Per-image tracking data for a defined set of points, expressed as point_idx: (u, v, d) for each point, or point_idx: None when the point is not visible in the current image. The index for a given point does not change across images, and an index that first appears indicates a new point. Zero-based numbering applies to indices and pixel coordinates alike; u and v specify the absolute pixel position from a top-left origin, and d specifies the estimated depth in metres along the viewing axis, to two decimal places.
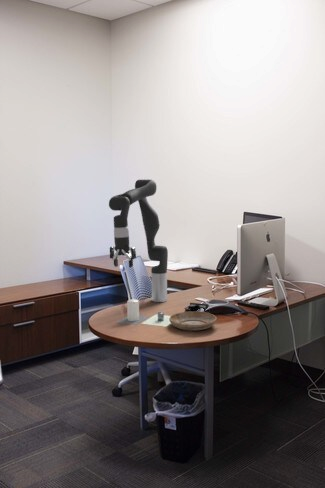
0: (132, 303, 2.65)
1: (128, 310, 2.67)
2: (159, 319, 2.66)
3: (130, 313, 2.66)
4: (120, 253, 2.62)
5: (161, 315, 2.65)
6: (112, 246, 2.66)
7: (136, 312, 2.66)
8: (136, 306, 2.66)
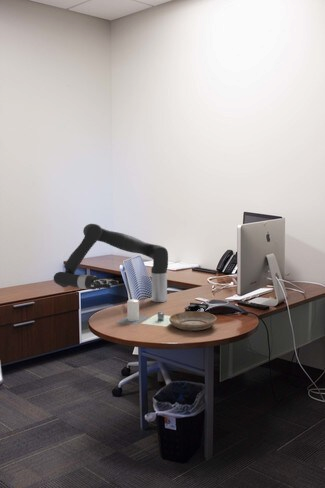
0: (132, 303, 2.65)
1: (128, 310, 2.67)
2: (159, 319, 2.66)
3: (130, 313, 2.66)
4: None
5: (161, 315, 2.65)
6: None
7: (136, 312, 2.66)
8: (136, 306, 2.66)
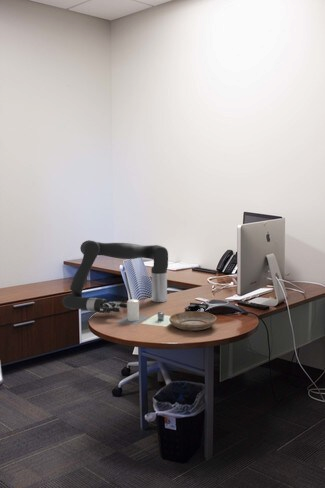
0: (132, 303, 2.65)
1: (128, 310, 2.67)
2: (159, 319, 2.66)
3: (130, 313, 2.66)
4: None
5: (161, 315, 2.65)
6: (112, 302, 2.80)
7: (136, 312, 2.66)
8: (136, 306, 2.66)
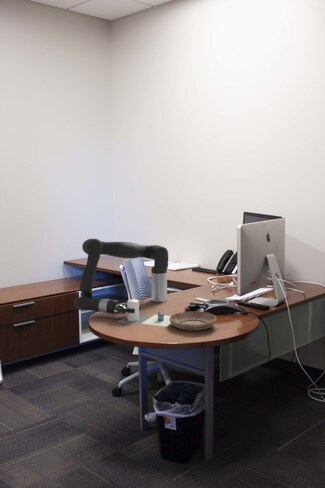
0: (132, 303, 2.65)
1: None
2: (159, 319, 2.66)
3: (130, 313, 2.66)
4: None
5: (161, 315, 2.65)
6: (125, 303, 2.77)
7: (136, 312, 2.66)
8: (136, 306, 2.66)
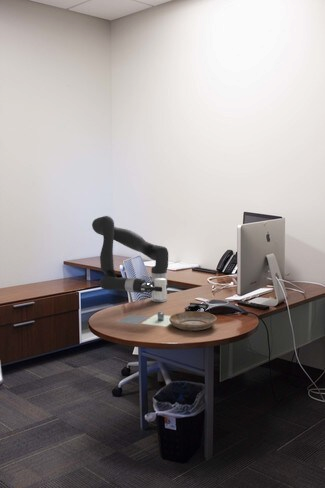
0: (159, 281, 2.61)
1: None
2: (159, 319, 2.66)
3: (157, 291, 2.62)
4: None
5: (161, 315, 2.65)
6: None
7: (163, 290, 2.62)
8: (163, 284, 2.62)
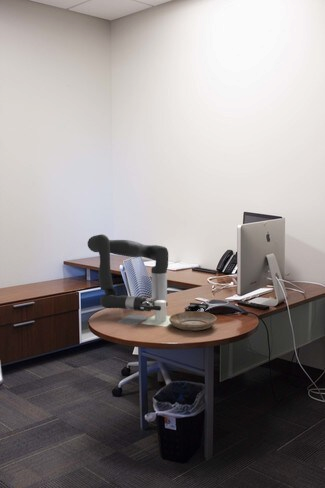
0: (160, 304, 2.63)
1: (155, 311, 2.64)
2: None
3: (158, 314, 2.64)
4: None
5: None
6: (150, 300, 2.75)
7: (164, 313, 2.64)
8: (164, 307, 2.64)
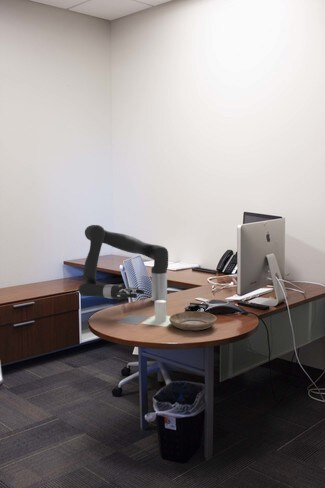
0: (160, 304, 2.63)
1: (155, 311, 2.64)
2: None
3: (158, 314, 2.64)
4: None
5: None
6: (128, 288, 2.80)
7: (164, 313, 2.64)
8: (164, 307, 2.64)
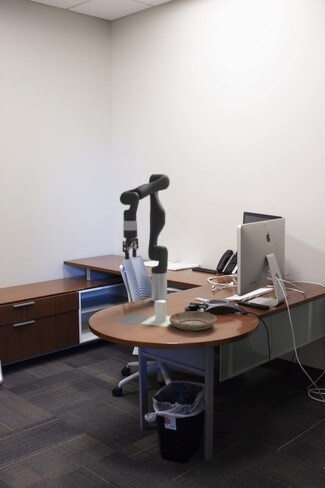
0: (160, 304, 2.63)
1: (155, 311, 2.64)
2: None
3: (158, 314, 2.64)
4: None
5: None
6: (136, 238, 2.85)
7: (164, 313, 2.64)
8: (164, 307, 2.64)
